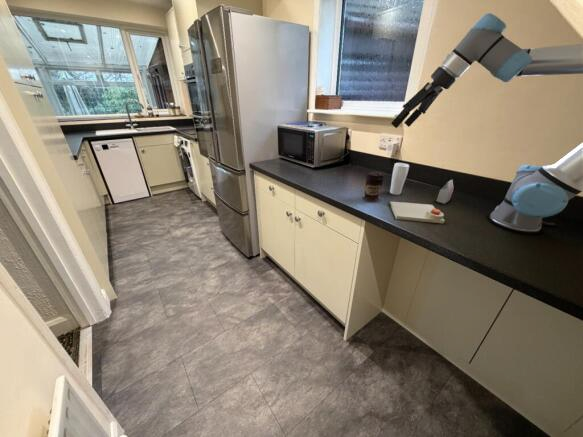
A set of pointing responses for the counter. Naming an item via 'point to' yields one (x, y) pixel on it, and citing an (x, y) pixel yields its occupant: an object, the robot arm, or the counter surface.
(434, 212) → the button
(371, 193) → the coffee cup
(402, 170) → the drinking glass
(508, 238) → the counter surface
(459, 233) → the counter surface
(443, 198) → the grey tapered block
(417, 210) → the scale
